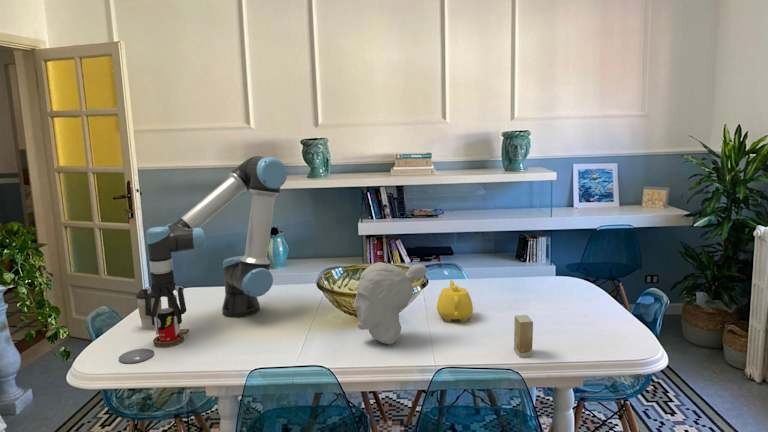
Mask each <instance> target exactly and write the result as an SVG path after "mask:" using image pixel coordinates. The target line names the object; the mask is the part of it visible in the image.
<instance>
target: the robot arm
mask: <svg viewBox="0 0 768 432" xmlns="http://www.w3.org/2000/svg"><path fill="white" fill-rule="evenodd" d="M228 176H229V177H227V178H226V180H224V181H223V182H221V184H220V185H218V186H217V187H216V188H214V190H212V191H211V192H210V193H209V194H207V195H206V196H205V197H204V198H203V199H201V201H199V202H198V203H197V204H195V205H194V207H192V208H190V210H188V211H187V212H186V213H185V214H184V215H182V216H181V217H180V218H178V219H177V220H176V221H175V222H174V223H173V222H172V223H169V224H167V225H165V226H155V227H150V228H148V229H147V230H146V244H147V251H148V252H147V253H148V263H149V271H150V279H151V280H150V281H151V286H149V287H147V286H146V287H145V288H143V289H144V290H143V292H144V294H145V315H146V316H151V318H152V325H155V329H154V330H155V336H159V331H158V322H157V315H156V314H157V310H158V306H159V302H160V298H161V299H162V298H163V297H165V298H168V299H169V301H170V303H171V305H172V307H173V309H174V311H175V313H176V315H175V316H174V320H175V330H176V334H178V333H179V332H180V329H181V324H182V322H183V320H182V319H183V318H182V317H183V316H182V315H184V314H185V313H186V312H187V306H186V301H185V300H186V299H185V295H184V289H185V287H184V285H176V283H175V276H174V270H173V269H174V266H173V256H172V255H173V253H179V252H185V251H192V250H198V249H201V248H204V247H205V245H206V235H205V231H204V230H203V229H202V226H204V225H205V224H206V223H207V222H208V221H210V220H211V219H212V218H213V217H215V216H216V214H218V213H219V212H220V211H221V210H223V209H224V207H226V206H227V205H228V204H229V203H231V202H232V201H233V200H234V199H235V198H236V197H238V196H239V195H240V194H242V193H243V192H244V193H245V192H248V191H249V192H250V193H251V194H252V196H251V203H250V204H251V206H250V211H249V220H248V227H247V235H246V236H247V237H246V243H245V249H244V250H245V252H244V255H238V256H232V257H228V258H225V259H224V260H223V261H222V265H223V266H222V271H223V281H224V291H225V295H224V299H223V304H222V307H221V308H222V309H221V310H222V314H223V316H225V317H230V318H241V317H242V318H244V317H248V316H252V315H254V314H256V313H259V312H260V310H261V305H260V302H259V299H258V297H263V296H265V295H266V294H267V293H268V292H269V291H270V290H271V288H272V287H273V282H274V278H273V274H272V273H271V271H270V269H271V261H270V260H269V259H268V252H269V246H270V245H269V244H270V237H271V230H272V229H271V228H272V224H273V223H272V222H273V215H274V209H275V208H274V207H275V202H276V201H275V200H276V197H277V196H279V195H280V193H281V192H280V191H281V187H282V186H283V185H284V184H285V183H286V181H287V176H288V171H287V167H286V166H285V165H284V163H283V161H281V160H279V159H278V158H275V157H272V156H261V155H260V156H259V155H255V156H251V157H249V158H247V159H246V160H244V161H243V162H242V163H240V164H239V165H238V166H237V167H236V168H235V169H233V170H232V171H231V172H230V173H229V175H228ZM151 290H152V291H153V292H154V293H155V300H154V304H153V308H152V311H151ZM175 291H176V293H177V301H176V299H175V297H174V295H175V294H174V292H175ZM178 302H179V303H178Z"/></svg>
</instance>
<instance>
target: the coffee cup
mask: <svg viewBox="0 0 768 432" xmlns="http://www.w3.org/2000/svg"><path fill="white" fill-rule="evenodd" d="M144 289H145V288H143V289H140V290H138V292H136V294H135V298H136V301H137V308H138V315H139V319H140V322H141V327H142V329H143V330H148V331H149V330H150V331H151V330H155V325H152V318H151V316H146V315H145V294H144V292H143V290H144ZM154 300H155V293H154V292H153V291H152V290H151V311H152V308H153V304H154ZM161 309H162V297H161V298H160V302H159V306H158V310H157V314H156V315H158V311H159V310H161Z"/></svg>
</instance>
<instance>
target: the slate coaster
mask: <svg viewBox="0 0 768 432" xmlns="http://www.w3.org/2000/svg"><path fill="white" fill-rule="evenodd" d="M154 356H155V352H154V350H153V349H151V348H136V349H133V350H132V349H131V350H129V351H125V352H124V353H122V354H121V355H119V357H118V362H119V363H121V364H124V365H131V364H133V365H134V364H140V363H143V362H145V361H149V360H150V359H152V358H153V357H154Z"/></svg>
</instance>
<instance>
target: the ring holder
mask: <svg viewBox="0 0 768 432" xmlns="http://www.w3.org/2000/svg"><path fill="white" fill-rule="evenodd" d="M174 297H175V299H176V301H177V302H178V295H176V294H174ZM166 298H167V297H166ZM166 300H167V308H173V307H172V305H171V303H170V301H169V299H168V298H167V299H166ZM174 312H175V311H174ZM189 330H190V329H189V328H180V332H179V333H178V339H177V340H174V341H170V342H160V341H159V335H156V336H155V338H153V339H152V342H153V346H154V347H155V348H156V347H157V348H159V349H160V348H161V349H163V348H164V349H165V348H166V349H167V348H172V347H175V346H179V345H181V344H183V342H185V336H186V335H187V334H188V332H189Z"/></svg>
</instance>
